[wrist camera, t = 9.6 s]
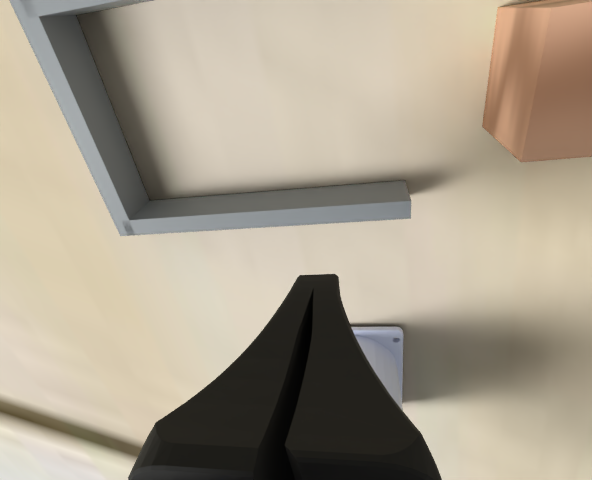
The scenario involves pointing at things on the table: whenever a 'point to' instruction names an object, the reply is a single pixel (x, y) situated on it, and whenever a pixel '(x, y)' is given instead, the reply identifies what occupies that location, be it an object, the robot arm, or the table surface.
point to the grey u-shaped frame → (120, 165)
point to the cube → (542, 80)
